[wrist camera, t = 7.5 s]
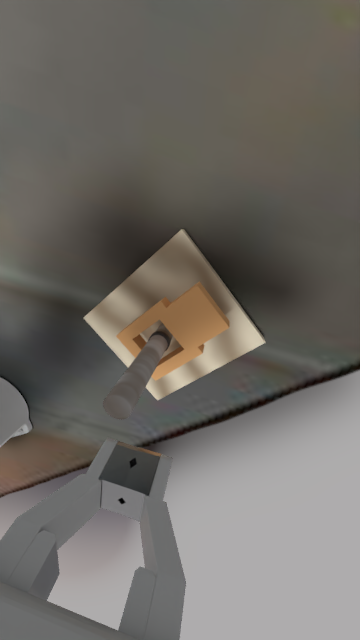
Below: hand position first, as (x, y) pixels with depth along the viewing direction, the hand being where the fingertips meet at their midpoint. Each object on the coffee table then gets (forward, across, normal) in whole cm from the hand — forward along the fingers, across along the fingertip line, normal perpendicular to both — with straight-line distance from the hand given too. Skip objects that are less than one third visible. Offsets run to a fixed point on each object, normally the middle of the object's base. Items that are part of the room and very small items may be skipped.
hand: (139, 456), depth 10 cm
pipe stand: (+23, +4, +5) cm, 24 cm away
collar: (+19, +2, +3) cm, 19 cm away
